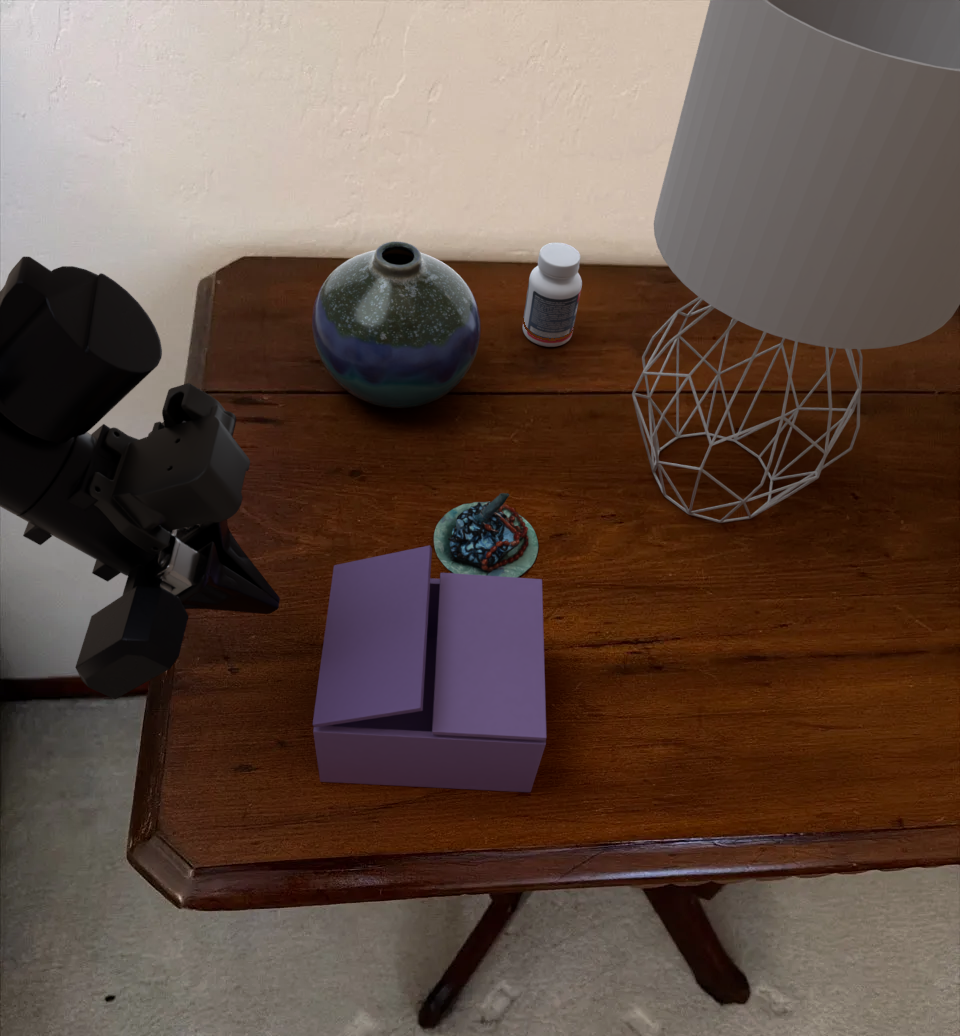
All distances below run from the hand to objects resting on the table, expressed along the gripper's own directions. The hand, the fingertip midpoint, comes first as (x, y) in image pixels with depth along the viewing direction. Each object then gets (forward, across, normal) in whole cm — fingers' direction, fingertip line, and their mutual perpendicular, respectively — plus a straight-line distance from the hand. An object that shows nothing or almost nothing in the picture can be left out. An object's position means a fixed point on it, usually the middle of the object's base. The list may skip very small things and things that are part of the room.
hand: (275, 606), depth 58 cm
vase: (+12, +36, +4) cm, 39 cm away
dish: (+19, +16, -2) cm, 25 cm away
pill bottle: (+23, +46, -6) cm, 51 cm away
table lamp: (+33, +26, -17) cm, 46 cm away
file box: (+16, 0, +1) cm, 16 cm away
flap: (+6, 0, -3) cm, 7 cm away
